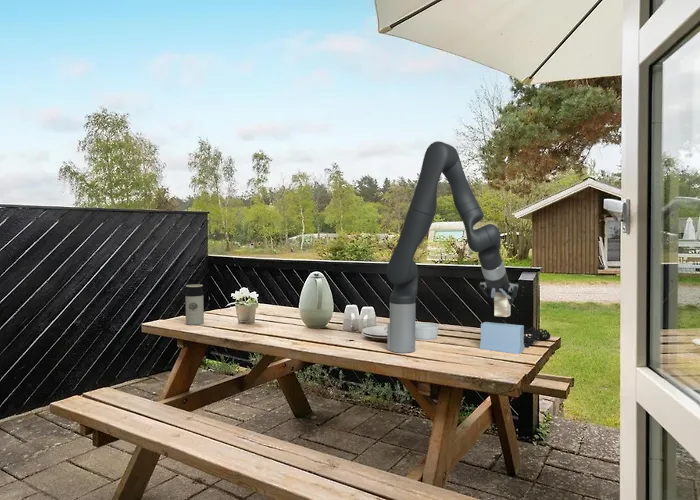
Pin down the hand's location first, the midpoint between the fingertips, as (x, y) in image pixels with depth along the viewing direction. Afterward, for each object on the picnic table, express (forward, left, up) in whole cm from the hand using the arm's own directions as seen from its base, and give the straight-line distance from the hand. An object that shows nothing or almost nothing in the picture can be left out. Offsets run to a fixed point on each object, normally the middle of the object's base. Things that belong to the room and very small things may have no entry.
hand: (503, 302), depth 182 cm
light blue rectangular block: (0, -2, -17) cm, 17 cm away
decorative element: (+7, +15, -17) cm, 24 cm away
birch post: (0, -2, -5) cm, 5 cm away
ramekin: (-32, +2, -17) cm, 36 cm away
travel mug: (-135, -27, -17) cm, 139 cm away
